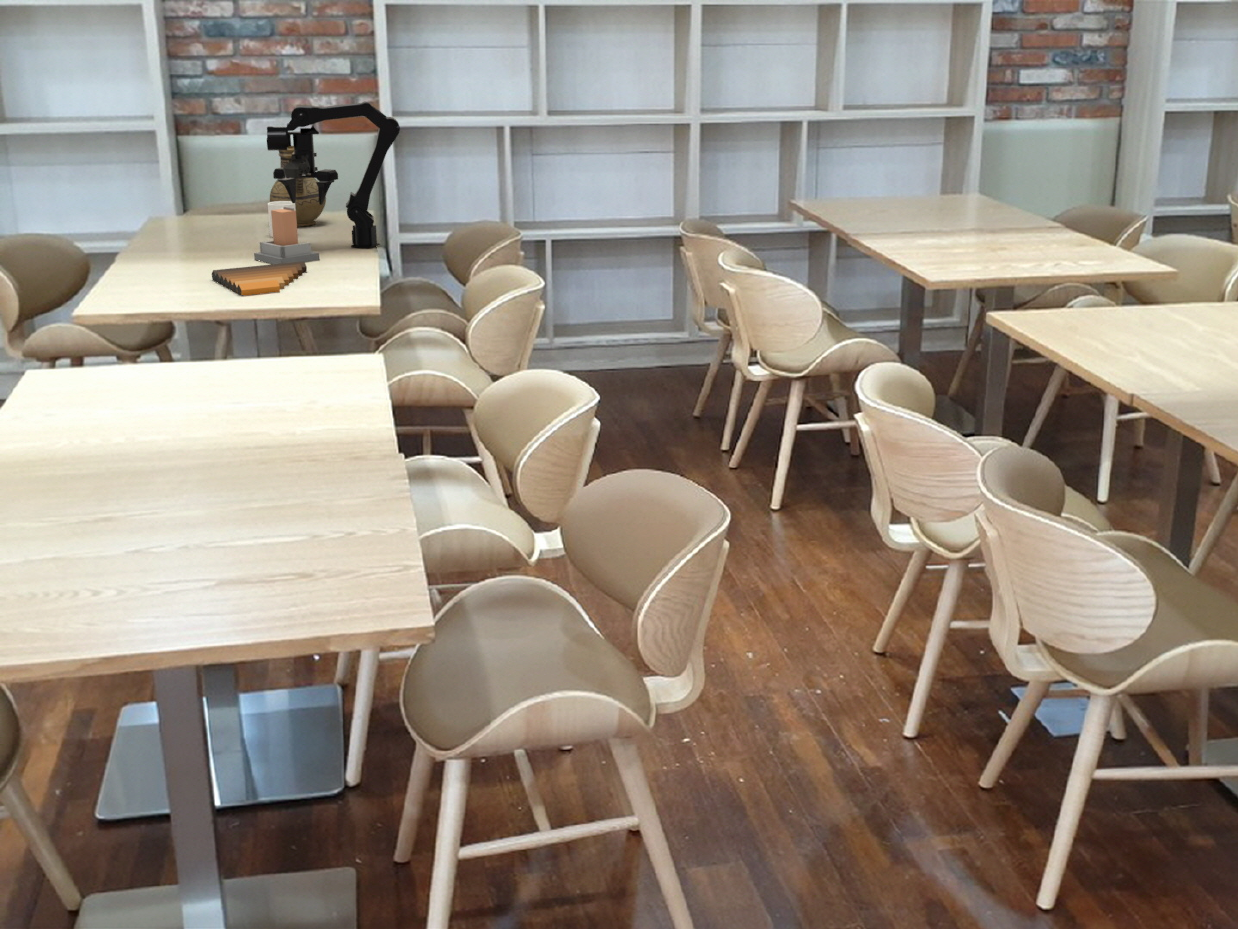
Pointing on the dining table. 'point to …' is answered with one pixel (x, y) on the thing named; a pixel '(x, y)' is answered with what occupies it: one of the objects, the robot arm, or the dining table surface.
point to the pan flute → (259, 277)
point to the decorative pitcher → (299, 194)
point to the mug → (276, 206)
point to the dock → (285, 253)
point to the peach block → (284, 226)
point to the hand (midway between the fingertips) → (307, 203)
